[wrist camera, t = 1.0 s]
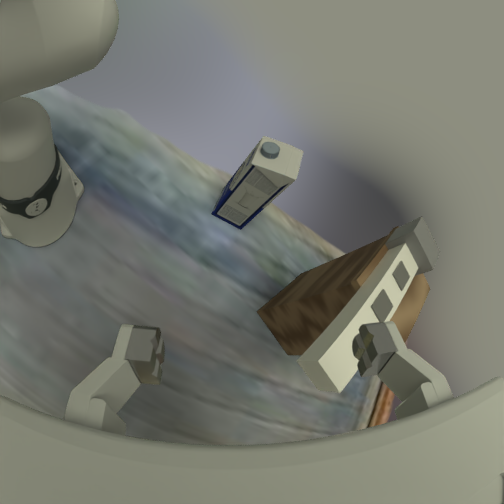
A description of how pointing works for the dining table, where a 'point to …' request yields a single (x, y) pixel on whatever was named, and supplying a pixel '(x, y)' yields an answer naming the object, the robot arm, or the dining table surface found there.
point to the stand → (334, 298)
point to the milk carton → (258, 181)
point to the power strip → (370, 305)
